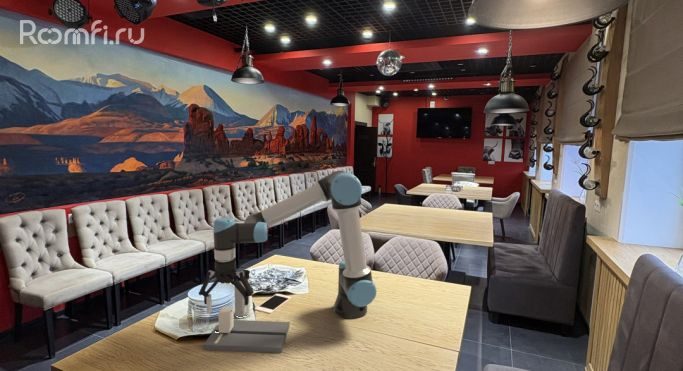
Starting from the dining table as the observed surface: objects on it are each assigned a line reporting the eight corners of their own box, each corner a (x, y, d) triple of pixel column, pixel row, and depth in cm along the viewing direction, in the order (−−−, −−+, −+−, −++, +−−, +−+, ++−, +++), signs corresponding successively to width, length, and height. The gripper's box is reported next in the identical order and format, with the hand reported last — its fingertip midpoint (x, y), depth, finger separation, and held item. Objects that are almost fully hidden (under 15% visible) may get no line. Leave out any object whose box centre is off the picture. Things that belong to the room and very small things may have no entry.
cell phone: (254, 310, 156) (254, 308, 156) (276, 295, 172) (276, 293, 172) (270, 314, 152) (270, 312, 152) (292, 298, 169) (292, 296, 169)
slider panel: (289, 326, 142) (289, 321, 142) (280, 352, 124) (280, 347, 124) (222, 324, 143) (222, 319, 143) (203, 349, 125) (203, 344, 125)
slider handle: (233, 330, 136) (233, 306, 135) (229, 337, 131) (229, 312, 130) (223, 330, 136) (223, 306, 135) (218, 337, 131) (218, 312, 130)
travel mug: (246, 319, 147) (245, 274, 145) (232, 317, 148) (231, 272, 146) (252, 312, 153) (252, 269, 151) (239, 310, 154) (238, 267, 152)
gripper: (260, 256, 134) (261, 308, 136) (196, 255, 134) (199, 306, 137) (255, 262, 126) (256, 317, 129) (187, 261, 127) (190, 316, 129)
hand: (226, 312), depth 133 cm, fingers open, 13 cm apart
